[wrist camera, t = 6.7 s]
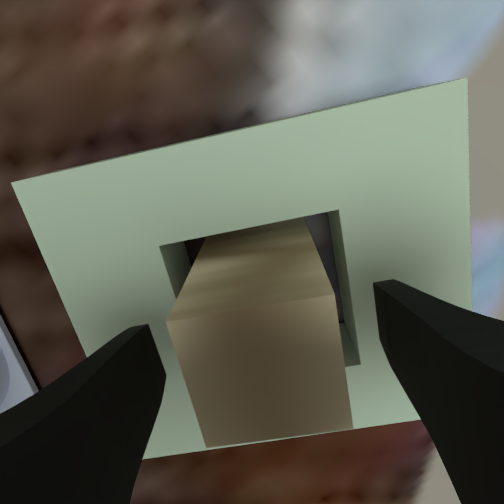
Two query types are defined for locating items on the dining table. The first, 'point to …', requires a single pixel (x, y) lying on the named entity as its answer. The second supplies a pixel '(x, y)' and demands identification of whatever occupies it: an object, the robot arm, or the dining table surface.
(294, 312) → the square peg
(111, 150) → the dining table surface
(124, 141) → the dining table surface
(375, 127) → the hole plate
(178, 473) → the dining table surface
